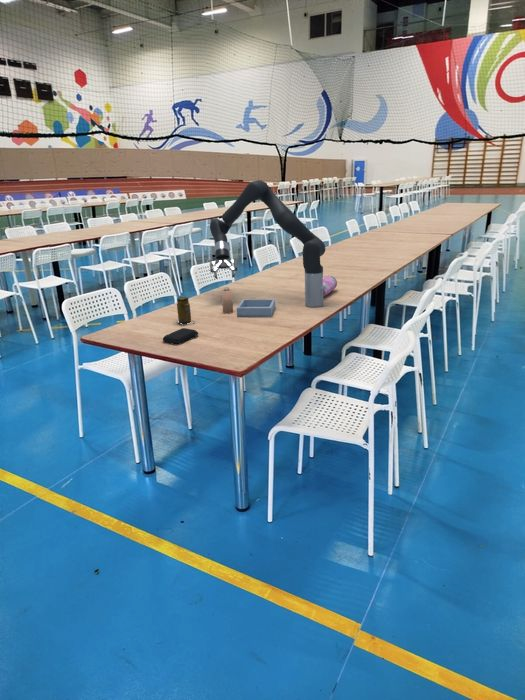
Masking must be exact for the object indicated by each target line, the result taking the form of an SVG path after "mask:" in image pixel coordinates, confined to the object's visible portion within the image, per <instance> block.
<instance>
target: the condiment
mask: <svg viewBox="0 0 525 700" xmlns="http://www.w3.org/2000/svg"><path fill="white" fill-rule="evenodd" d="M176 301H177V302H176V309H177V320H175V323H177V324H178V325H180V326H185V325H184V324H187V323H190V322H191V320H192V314H191V313H192V312H191V305H190V301H189V297H187V296H180V297H177V299H176ZM178 321H179V323H178ZM180 323H182V324H183V325H182V324H180ZM193 323H194V324H196V322H195V321H193V320H192V323H190V324H189V325H193ZM186 326H188V324H187V325H186Z"/></svg>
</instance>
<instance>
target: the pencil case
mask: <svg viewBox="0 0 525 700" xmlns="http://www.w3.org/2000/svg"><path fill="white" fill-rule="evenodd" d="M337 286H338V280H337V279H336V277H334V276H331V275H327V276H325V277H323V298H324V297H325V296H327V295H329V294H330V293H331V292H333V291H334V290H335V289H336V288H337Z"/></svg>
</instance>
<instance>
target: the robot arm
mask: <svg viewBox="0 0 525 700" xmlns="http://www.w3.org/2000/svg"><path fill="white" fill-rule="evenodd" d="M259 200H260V201H261V202H262V203H263V204H265V206H267V208H268V209H269V210H270V214H271V215H272V218H273V220H274V221H275V222H276V224H277V225H278V226H279V227H280V228H281V229H282V230H283V231H285V232H286V233H287V234H289V235H290V236H292V237H294V238H296V239H298V241H300V242H301V243H302V244H303V246H302V247H303V248H302V266H303V268H304V306H305V307H309V308H318V307H323V306H324V297H323V279H324V267H323V266H322V264H321V257H322V256H323V255H325V252H326V245H325V243H324V242H323V240H321V239H320V238H319V237H318V236H317V235H315V234H314V233H313V232H312V231H311V230H310V229H309V228H308V227H307V226H306V225H305V224H304V223H303V222H302V221H301V220H300V219H299V217H297V215H295V213H294V212H293V211H292V210H291V209H290V208H289V207H288V206H287V205H286V204H285V203H283V201H282V200H281V199H280V198H279V197H278V196H277V195H276V194H275V193H274V191H273V190H272V189H271V187H270V186H269V185H268V184H267V182H265V181H263V180H260V179H257V180H253V181H252V180H251V182H248V184H247V185H246V186H245V188H244V190H243V191H242V192H241V193H240V195H239V197H237V199H235V201H234V202H233V203H232V204H231V205H230V206H229V208H227V210H225V211H224V212H223V213H222V215H221V219H222V220H223V221H222V220H221V219H218V218H213V219H212V220H210V223H209V230H210V233H211V236H212V238H213V241H214V257H215V261H213V260H210V261H209V271H210V273H213V276H214V277H213V278H215V280H217V279H218V274H217V273H218V271H219V270H223V269H224V270H225V269H228V270H229V271H231V277H232V279H233V278H235V276H236V275H235V273H236V272H237V271H238V263H237V259H236V258H234V259H231V257H230V247H229V243H228V236H227V234H228V233H229V231H230V229H231V227H232V226H233V224H234V223H235V222H236V221H237V220H238V219H239V218H240V217H241V215H242V214H243V212H244V211H245V209H246V208H247V206H249V205H250V204H251V203H253V202H255V201H259ZM214 266H215V267H214ZM233 266H234V267H233ZM213 267H214V268H213Z"/></svg>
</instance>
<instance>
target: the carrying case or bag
mask: <svg viewBox="0 0 525 700" xmlns="http://www.w3.org/2000/svg"><path fill="white" fill-rule="evenodd" d="M198 335H199V331H197V330H196V329H192V328H191V329H190V328H186V327H183V328H180V329H178V330H175V331H173V332H170V333H168V334H166V335H164V336H163V338H162V342H164V343H166V342H168V344H171V343H173V344H172V345H175V344H178V345H181V344H184V343H185V342H187V341H189V339H190V340H191V338H192V339H193V337H194V338H196V337H198ZM180 343H181V344H180Z"/></svg>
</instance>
